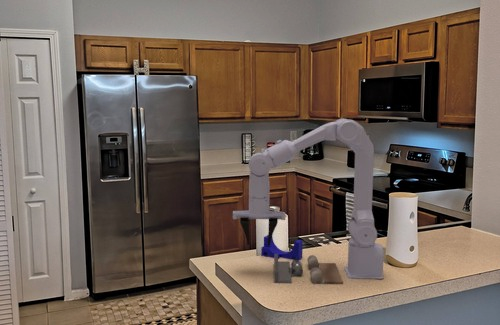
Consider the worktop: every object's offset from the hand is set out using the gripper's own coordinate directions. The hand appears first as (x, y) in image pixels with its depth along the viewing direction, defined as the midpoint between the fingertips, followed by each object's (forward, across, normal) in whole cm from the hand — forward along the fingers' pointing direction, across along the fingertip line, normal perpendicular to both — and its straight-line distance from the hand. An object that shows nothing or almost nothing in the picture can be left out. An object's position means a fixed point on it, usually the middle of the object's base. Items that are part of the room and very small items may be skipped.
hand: (258, 244), depth 134 cm
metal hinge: (+8, -8, 0) cm, 12 cm away
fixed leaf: (+8, -18, 0) cm, 20 cm away
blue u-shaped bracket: (+9, -7, -14) cm, 18 cm away
